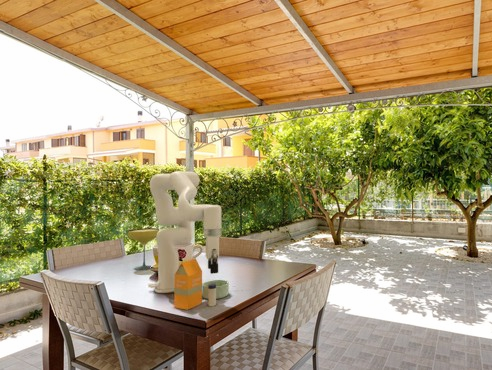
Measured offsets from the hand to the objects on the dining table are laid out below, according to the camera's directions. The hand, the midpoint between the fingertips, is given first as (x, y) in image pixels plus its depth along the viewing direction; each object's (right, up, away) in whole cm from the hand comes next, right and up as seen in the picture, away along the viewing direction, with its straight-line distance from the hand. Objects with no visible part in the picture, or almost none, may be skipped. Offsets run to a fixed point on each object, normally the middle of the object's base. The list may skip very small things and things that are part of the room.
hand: (213, 270), depth 143 cm
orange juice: (-11, -16, -1) cm, 19 cm away
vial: (0, -15, 0) cm, 15 cm away
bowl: (-3, -16, +12) cm, 20 cm away
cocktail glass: (-67, -16, +66) cm, 96 cm away
